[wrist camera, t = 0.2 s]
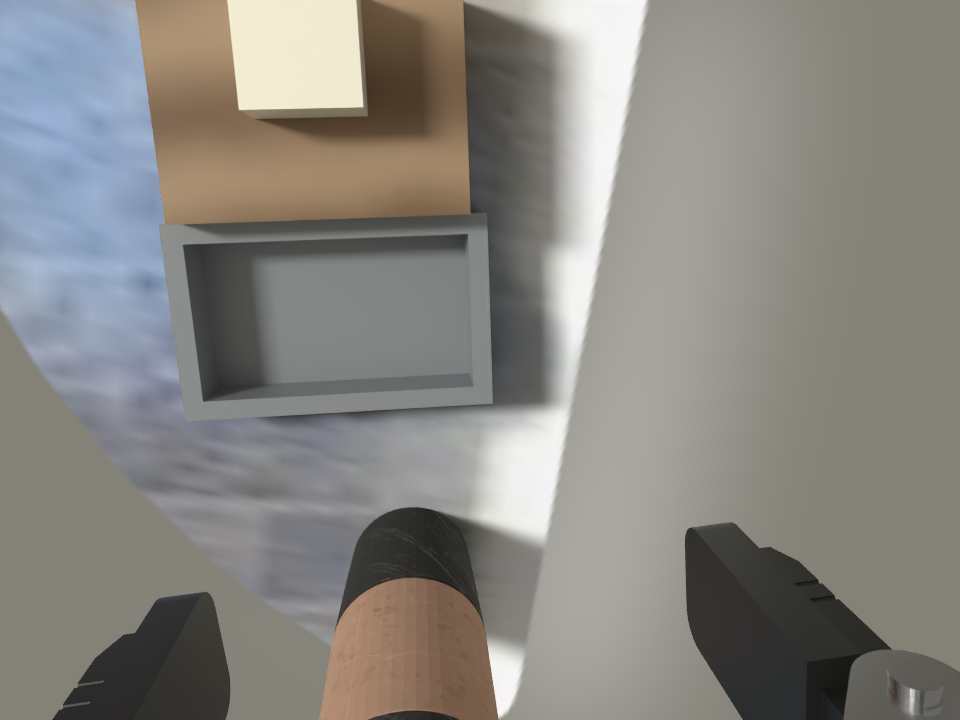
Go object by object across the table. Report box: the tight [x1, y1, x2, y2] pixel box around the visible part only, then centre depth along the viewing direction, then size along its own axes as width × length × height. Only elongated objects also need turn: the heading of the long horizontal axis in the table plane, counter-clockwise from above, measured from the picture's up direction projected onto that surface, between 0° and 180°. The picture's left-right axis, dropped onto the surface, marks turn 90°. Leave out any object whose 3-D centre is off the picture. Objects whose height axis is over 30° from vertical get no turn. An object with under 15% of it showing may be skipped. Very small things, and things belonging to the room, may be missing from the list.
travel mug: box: [319, 508, 498, 720], centre depth 33 cm, size 8×8×20 cm
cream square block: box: [227, 0, 368, 119], centre depth 29 cm, size 5×5×3 cm
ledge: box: [135, 0, 471, 225], centre depth 33 cm, size 11×14×6 cm
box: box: [159, 212, 493, 421], centre depth 37 cm, size 10×16×4 cm, turn 92°
